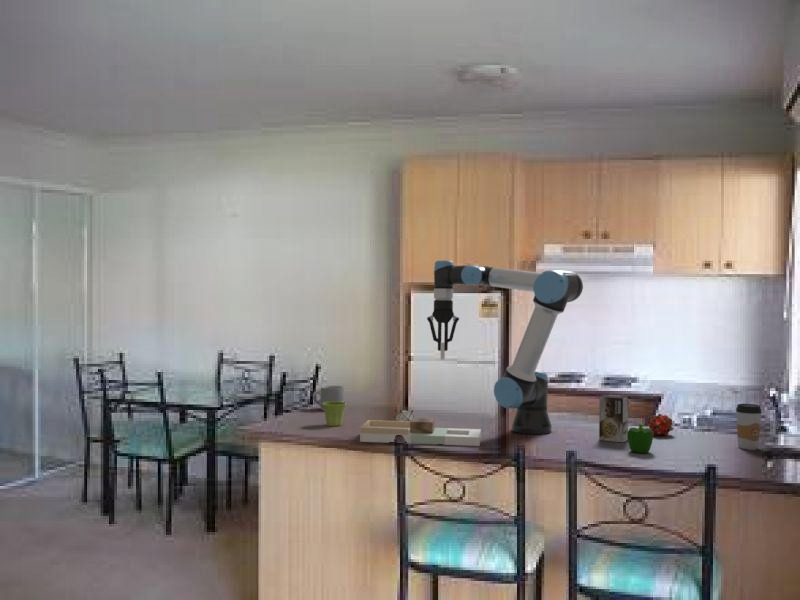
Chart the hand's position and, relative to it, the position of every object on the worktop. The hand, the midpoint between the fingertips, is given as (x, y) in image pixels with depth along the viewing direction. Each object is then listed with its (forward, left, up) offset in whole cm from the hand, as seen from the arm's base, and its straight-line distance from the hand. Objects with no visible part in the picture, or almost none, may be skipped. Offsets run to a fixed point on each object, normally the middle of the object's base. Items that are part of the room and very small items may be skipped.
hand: (442, 359), depth 317 cm
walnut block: (+5, +30, -23) cm, 38 cm away
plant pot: (+42, +7, -27) cm, 50 cm away
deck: (+5, +30, -26) cm, 40 cm away
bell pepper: (-70, +38, -27) cm, 84 cm away
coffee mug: (+53, -32, -27) cm, 67 cm away
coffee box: (-64, +18, -27) cm, 72 cm away
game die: (+13, +13, -27) cm, 32 cm away
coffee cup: (-109, +24, -27) cm, 115 cm away
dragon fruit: (-83, +5, -27) cm, 87 cm away
